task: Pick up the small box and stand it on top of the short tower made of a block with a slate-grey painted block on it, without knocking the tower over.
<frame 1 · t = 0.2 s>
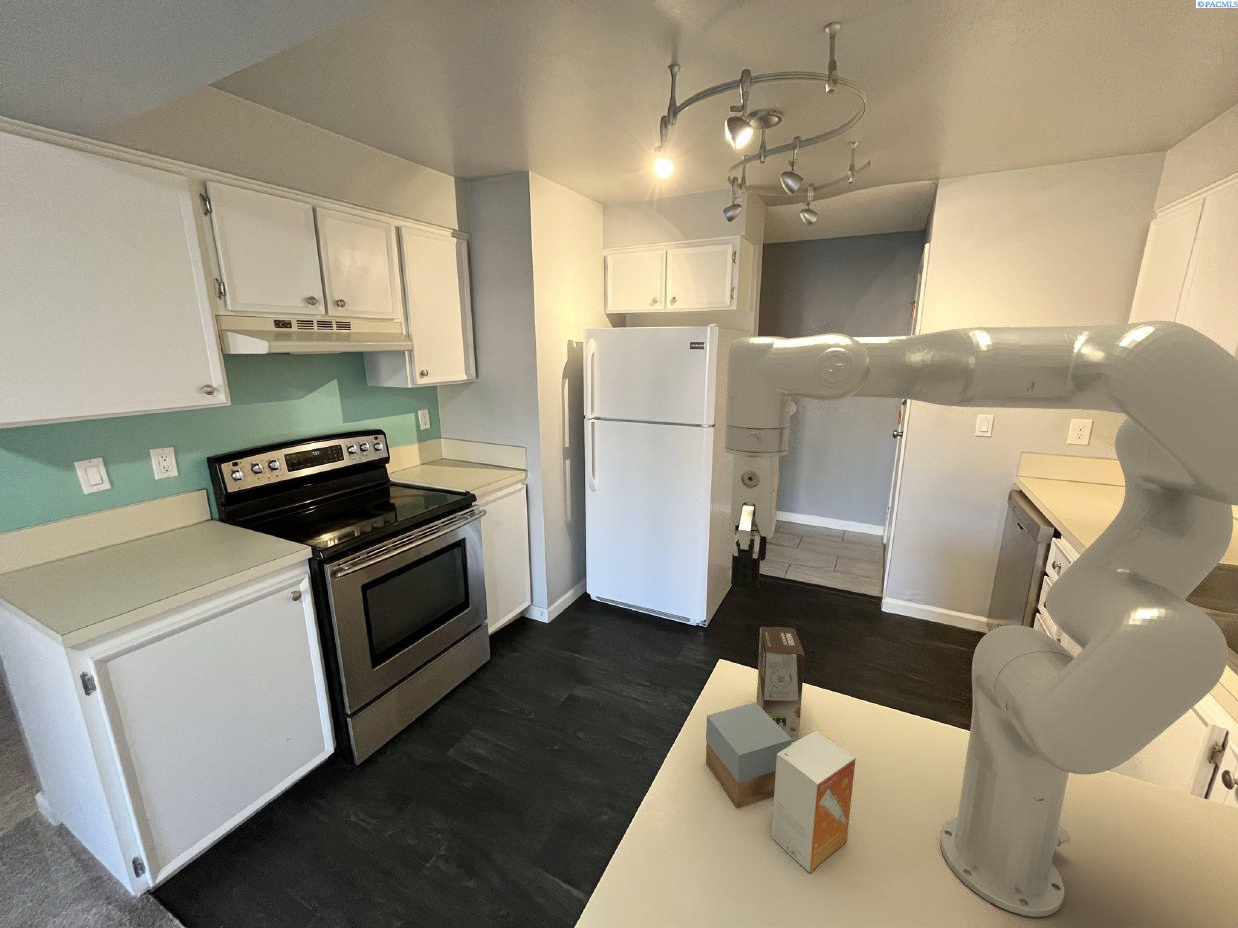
hand: (749, 571, 67), 36 cm above the countertop, tool pointing down, fingers open, 9 cm apart
coffee box: (776, 723, 92), on the countertop
tower top block: (746, 752, 79), point 4 cm above the countertop, touching tower base block
tower base block: (746, 779, 80), on the countertop, touching tower top block
small box: (808, 841, 69), on the countertop
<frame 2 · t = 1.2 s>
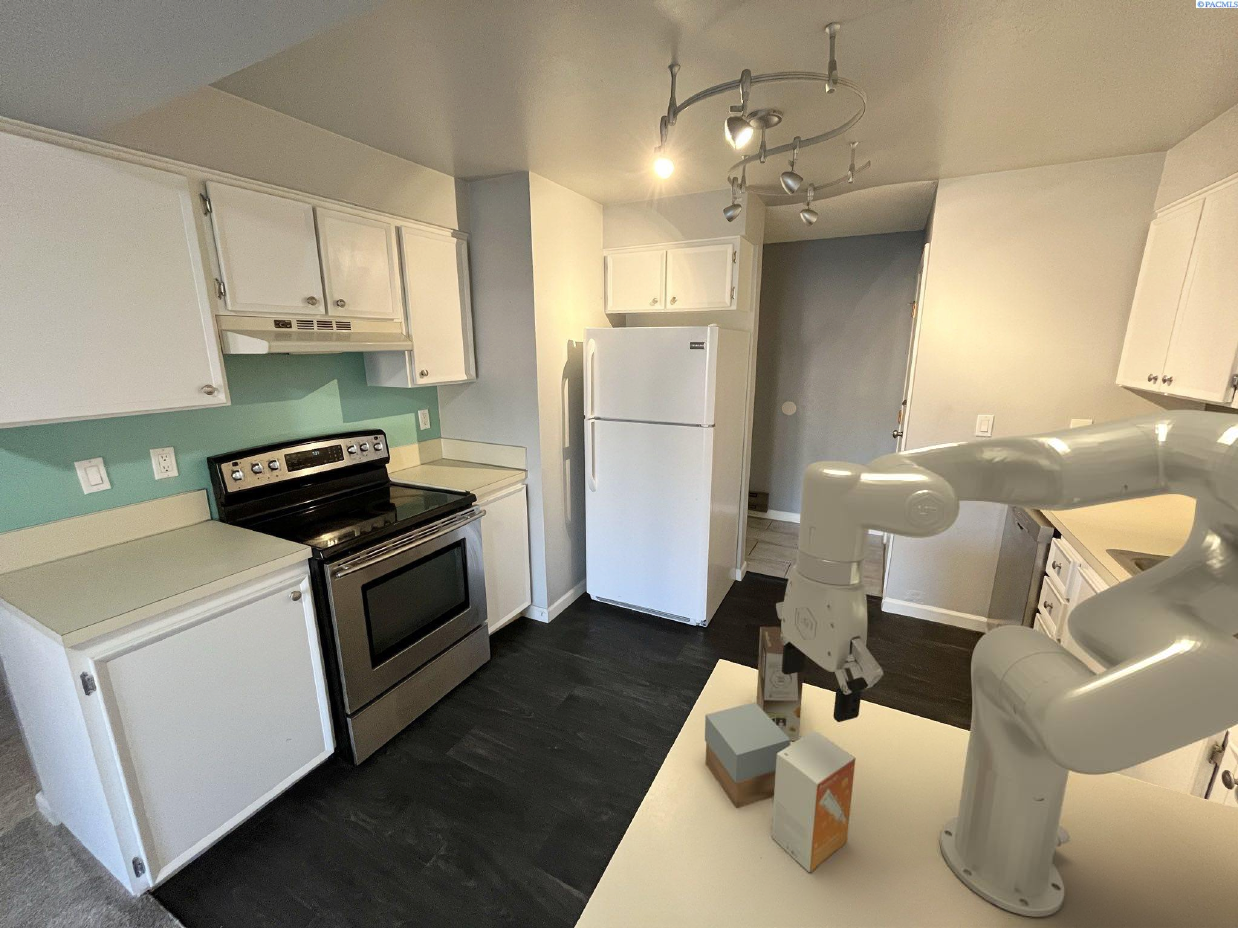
hand: (817, 693, 65), 22 cm above the countertop, tool pointing down, fingers open, 9 cm apart
nothing on the countertop moved.
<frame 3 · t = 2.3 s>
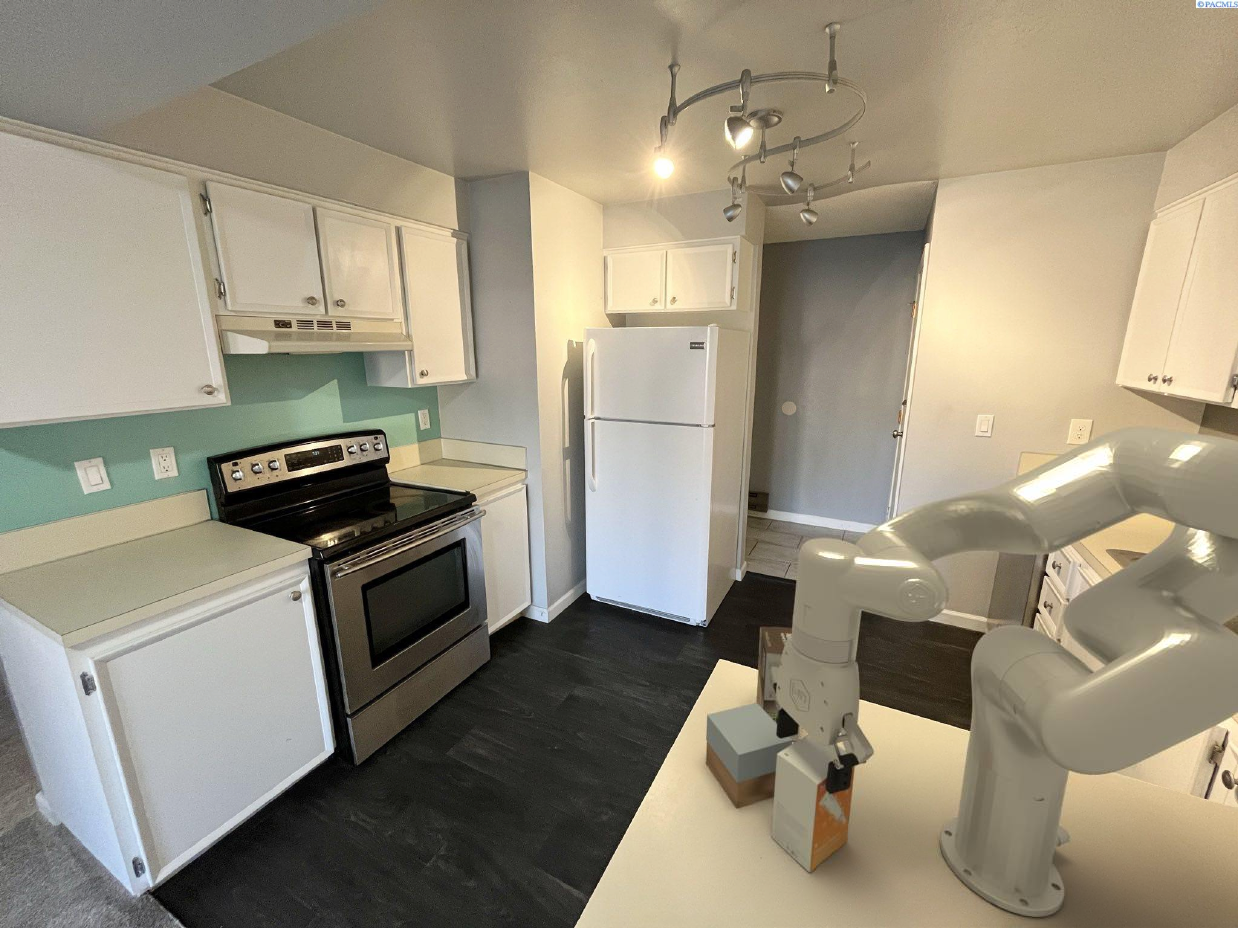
hand: (810, 760, 67), 12 cm above the countertop, tool pointing down, fingers open, 9 cm apart
nothing on the countertop moved.
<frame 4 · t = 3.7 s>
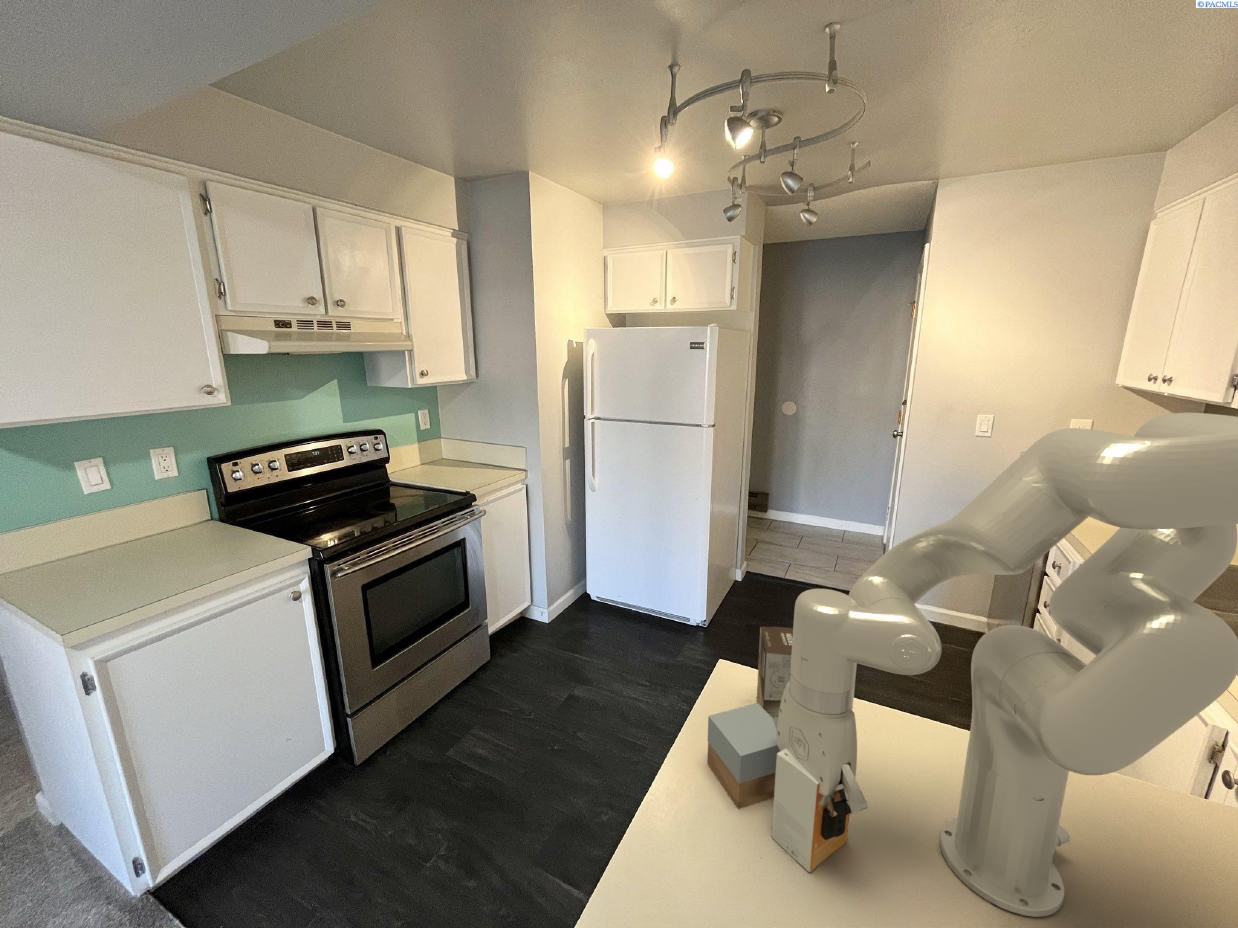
hand: (811, 808, 68), 5 cm above the countertop, tool pointing down, fingers closed on small box, 7 cm apart
small box: (809, 841, 69), on the countertop, touching gripper
everything else where it was.
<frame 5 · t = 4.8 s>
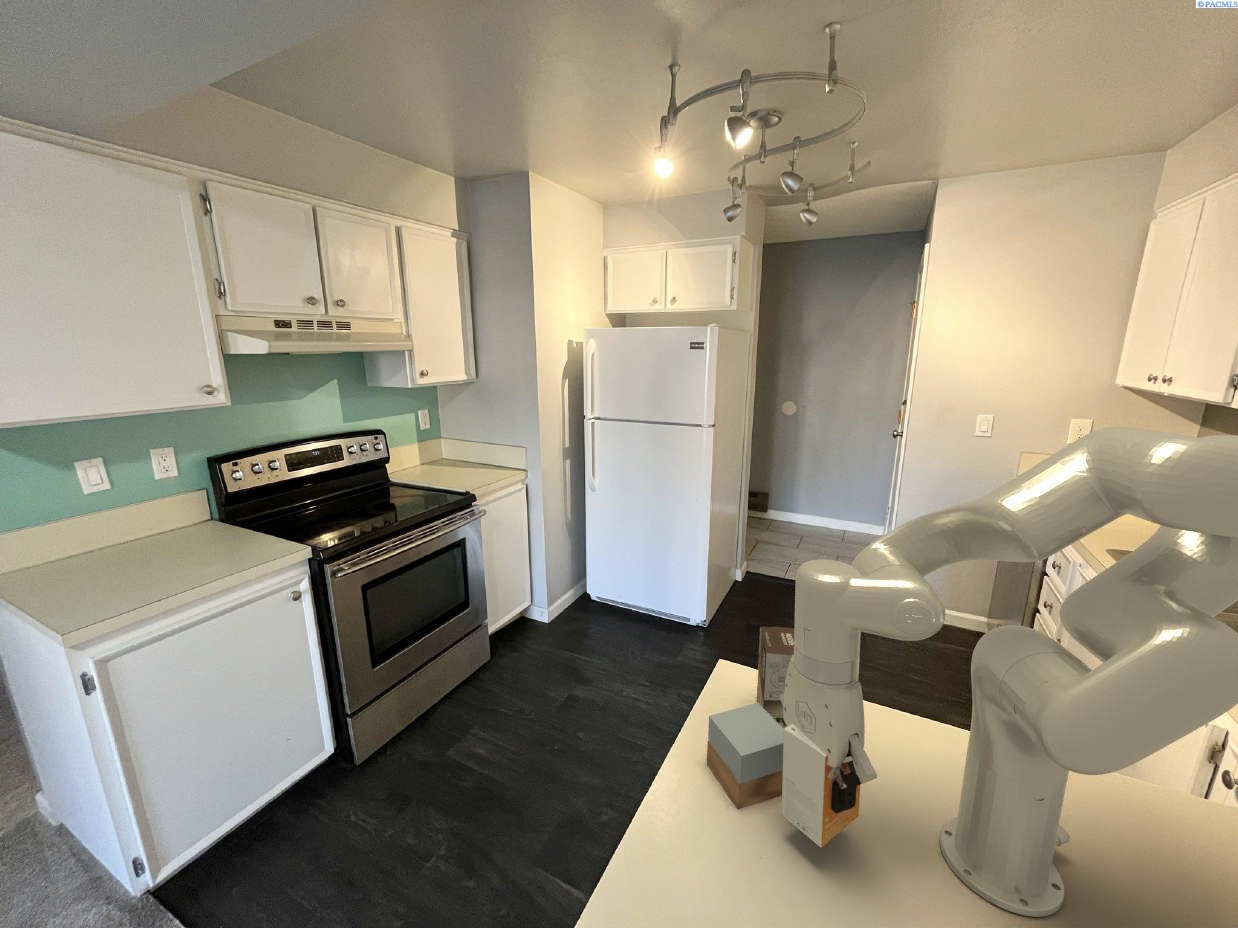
hand: (821, 783, 67), 9 cm above the countertop, tool pointing down, fingers closed on small box, 7 cm apart
small box: (820, 817, 68), point 4 cm above the countertop, touching gripper
everything else where it was.
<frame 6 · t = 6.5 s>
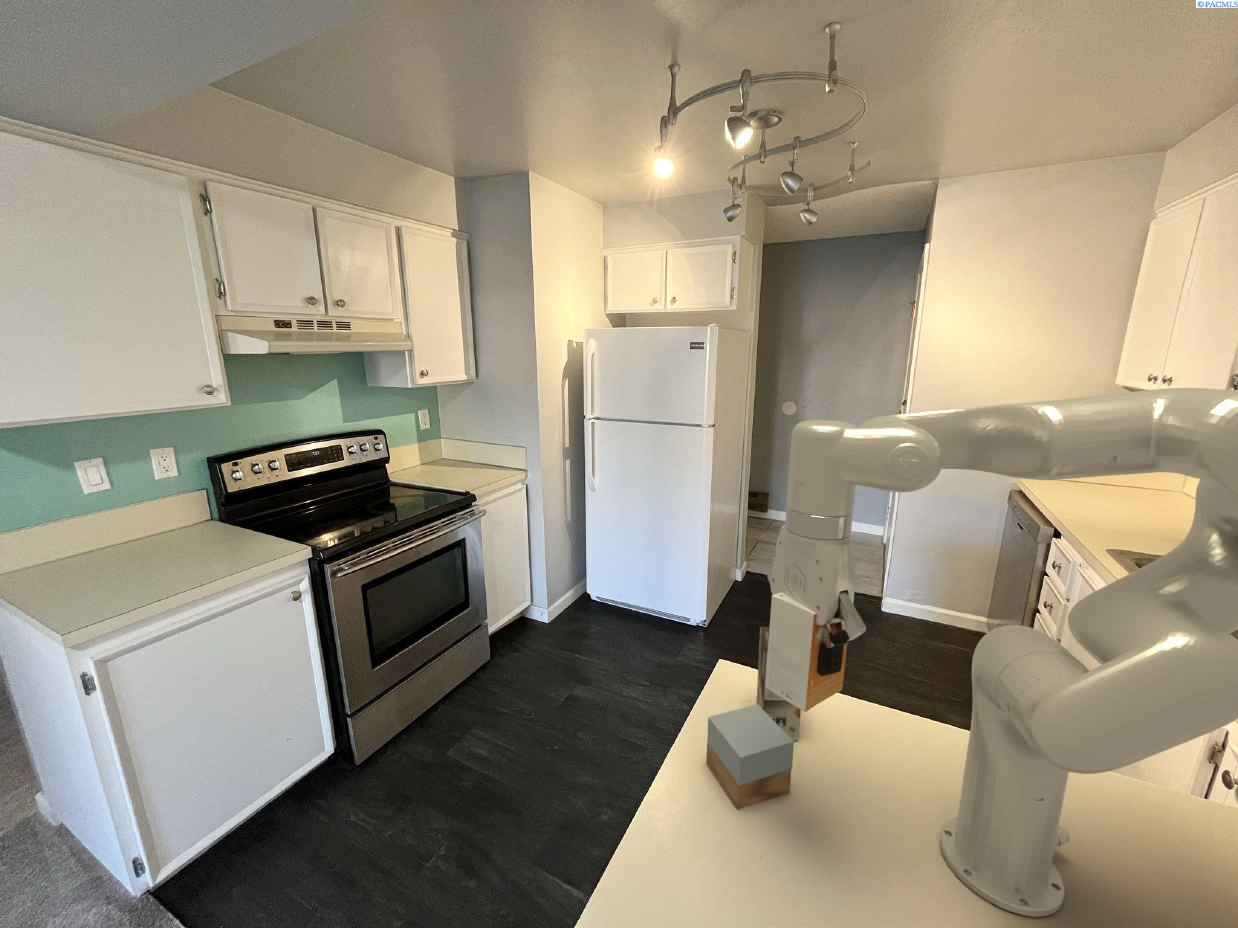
hand: (806, 654, 66), 26 cm above the countertop, tool pointing down, fingers closed on small box, 7 cm apart
tower top block: (748, 754, 79), point 4 cm above the countertop
tower base block: (746, 779, 80), on the countertop
small box: (803, 690, 67), point 21 cm above the countertop, touching gripper
everything else where it was.
when the fingers open (15 cm above the countertop, at t = 10.1 s): small box drops 2 cm, resting on tower top block.
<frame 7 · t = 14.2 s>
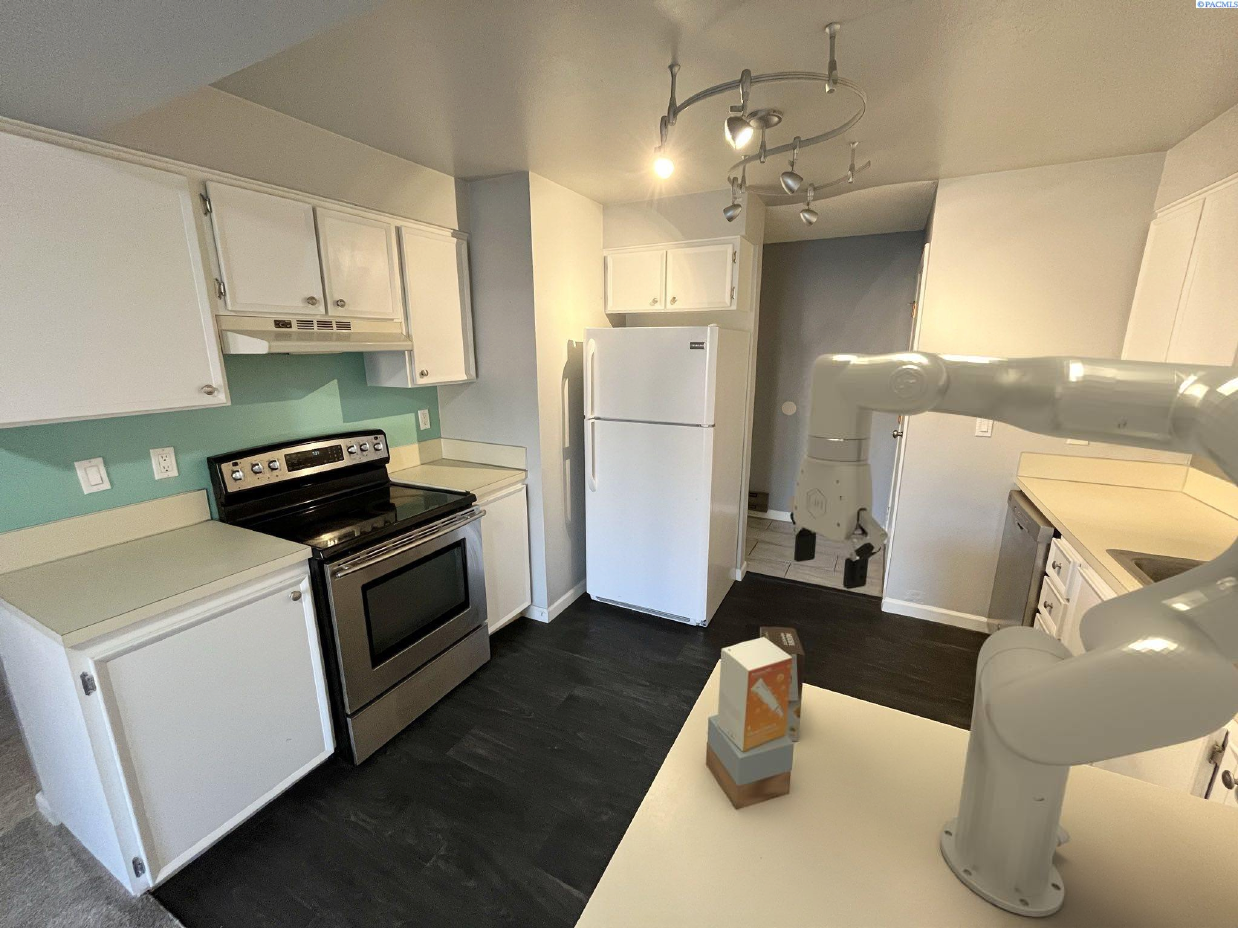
hand: (827, 572, 71), 34 cm above the countertop, tool pointing down, fingers open, 9 cm apart
tower top block: (748, 755, 79), point 4 cm above the countertop, touching small box, tower base block
tower base block: (746, 780, 80), on the countertop, touching tower top block
small box: (751, 732, 77), point 8 cm above the countertop, touching tower top block
everything else where it was.
at the end: small box 0.3 cm off-centre on the tower top block, point 4.3 cm above the tower top block's base; tower top block 0.2 cm from the tower base block (horizontally); small box tilted 0° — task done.
